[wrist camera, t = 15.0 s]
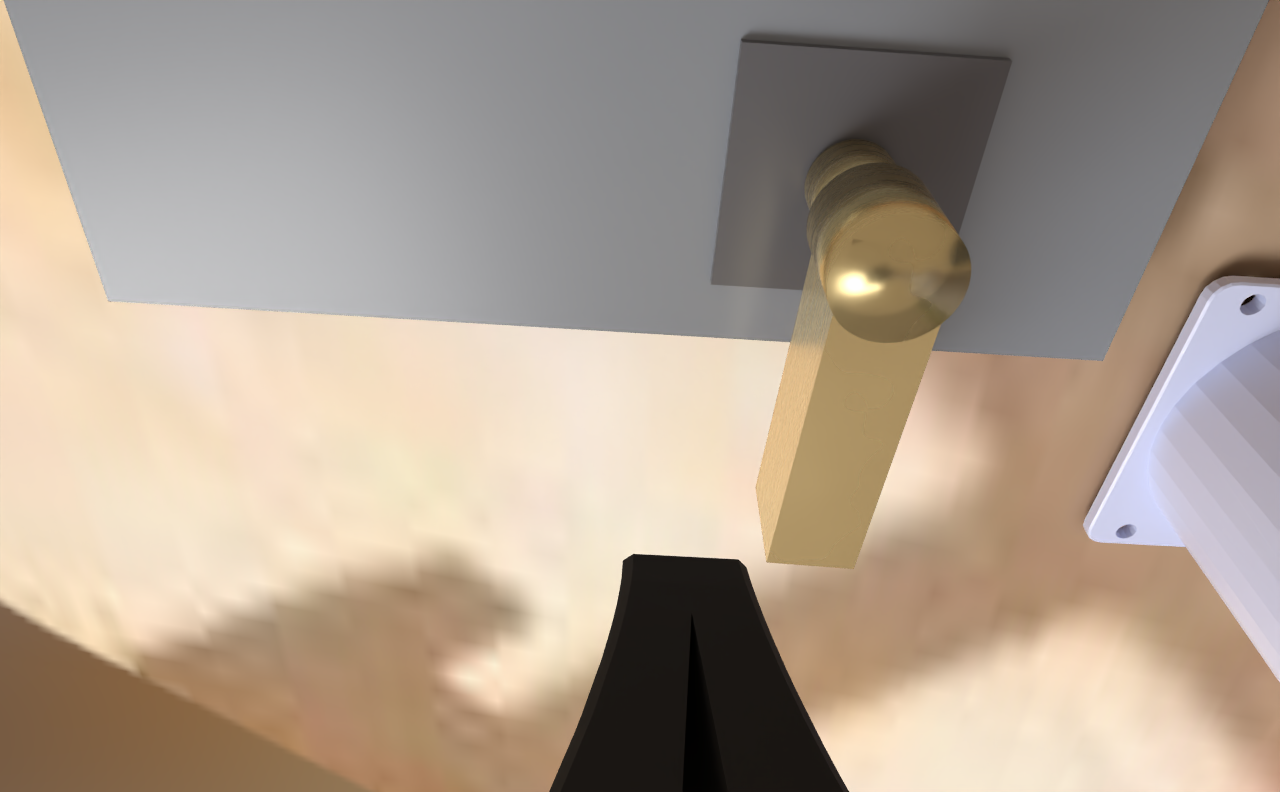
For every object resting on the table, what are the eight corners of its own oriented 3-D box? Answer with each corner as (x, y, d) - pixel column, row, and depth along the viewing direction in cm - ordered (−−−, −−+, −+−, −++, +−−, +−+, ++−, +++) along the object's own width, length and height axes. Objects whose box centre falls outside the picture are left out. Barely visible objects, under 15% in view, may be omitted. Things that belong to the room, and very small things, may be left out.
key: (806, 121, 14) (845, 210, 11) (922, 133, 14) (991, 224, 11) (739, 436, 18) (755, 561, 15) (831, 444, 18) (864, 569, 15)
